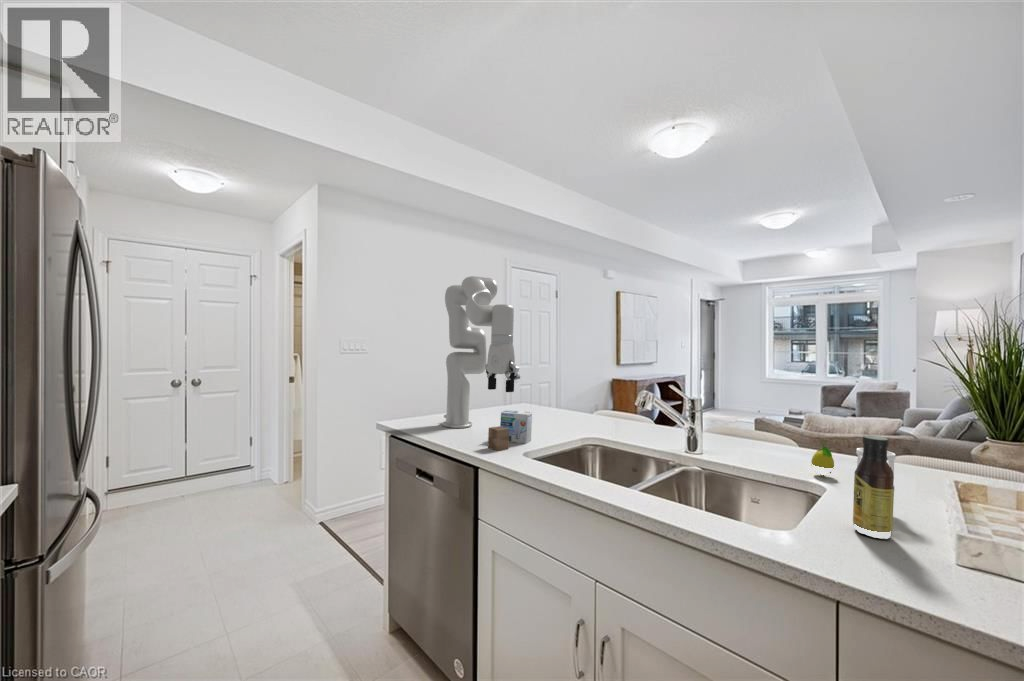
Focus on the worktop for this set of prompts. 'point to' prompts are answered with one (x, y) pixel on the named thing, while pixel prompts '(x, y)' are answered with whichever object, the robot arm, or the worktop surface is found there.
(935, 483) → the worktop surface
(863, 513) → the sauce bottle
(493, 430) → the walnut block
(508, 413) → the light bulb box
